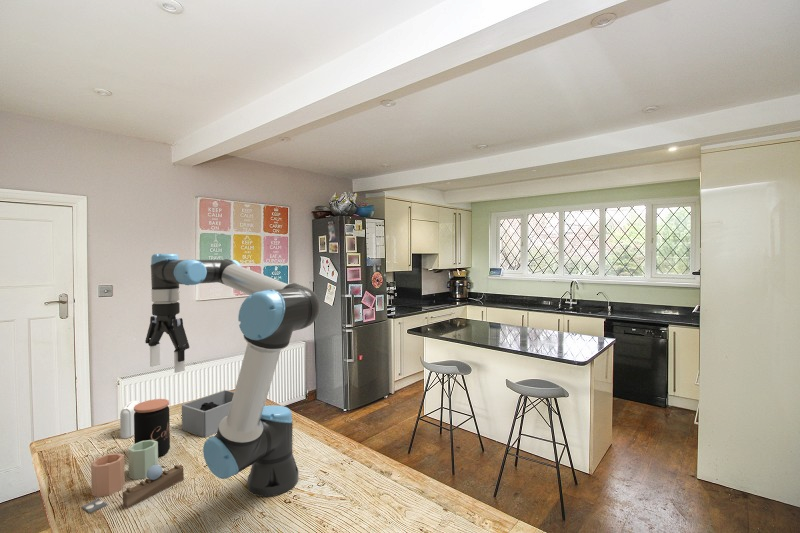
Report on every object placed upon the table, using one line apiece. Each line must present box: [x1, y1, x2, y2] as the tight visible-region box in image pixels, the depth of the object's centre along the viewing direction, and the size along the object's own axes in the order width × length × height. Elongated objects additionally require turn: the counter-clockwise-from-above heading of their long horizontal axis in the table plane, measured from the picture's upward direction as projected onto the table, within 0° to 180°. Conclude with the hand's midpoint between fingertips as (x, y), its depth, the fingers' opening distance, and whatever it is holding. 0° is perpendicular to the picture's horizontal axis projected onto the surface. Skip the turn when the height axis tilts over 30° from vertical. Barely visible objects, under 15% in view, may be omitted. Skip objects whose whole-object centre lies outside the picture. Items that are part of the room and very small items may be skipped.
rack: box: [122, 464, 185, 509], centre depth 115 cm, size 2×16×5 cm, turn 151°
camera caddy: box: [181, 389, 234, 438], centre depth 162 cm, size 16×21×10 cm
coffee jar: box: [133, 398, 171, 459], centre depth 137 cm, size 11×11×18 cm
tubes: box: [81, 440, 159, 514], centre depth 118 cm, size 12×22×9 cm, turn 151°
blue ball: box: [146, 464, 163, 480], centre depth 115 cm, size 4×4×4 cm
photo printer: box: [119, 400, 141, 439], centre depth 153 cm, size 10×4×12 cm, turn 13°
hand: (167, 368), depth 122 cm, fingers open, 13 cm apart
